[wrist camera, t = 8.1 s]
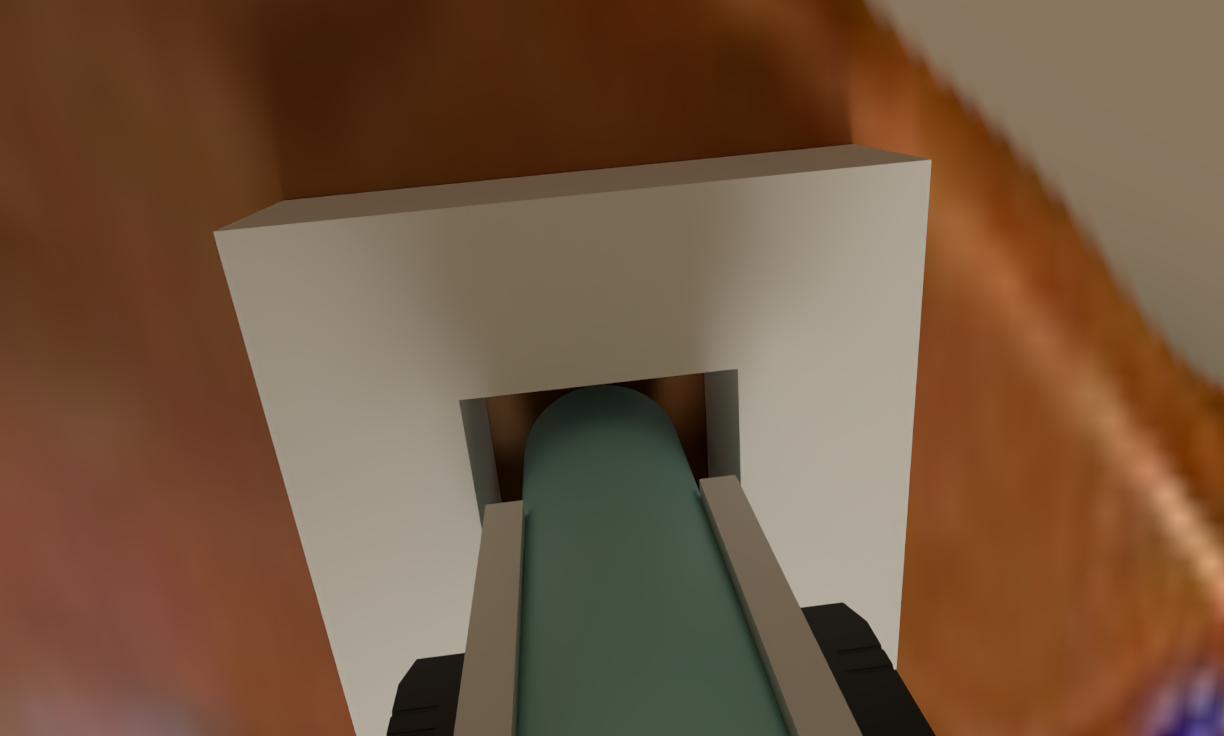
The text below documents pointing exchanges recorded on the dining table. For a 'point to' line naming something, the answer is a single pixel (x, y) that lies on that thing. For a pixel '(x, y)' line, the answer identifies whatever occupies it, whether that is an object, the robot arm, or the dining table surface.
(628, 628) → the peg
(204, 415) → the dining table surface
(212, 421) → the dining table surface
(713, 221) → the socket block
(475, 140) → the dining table surface
